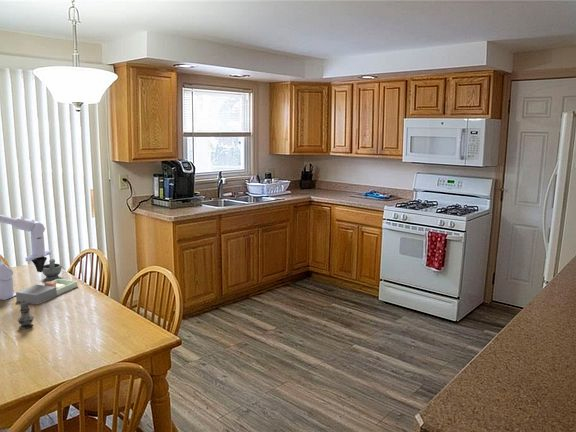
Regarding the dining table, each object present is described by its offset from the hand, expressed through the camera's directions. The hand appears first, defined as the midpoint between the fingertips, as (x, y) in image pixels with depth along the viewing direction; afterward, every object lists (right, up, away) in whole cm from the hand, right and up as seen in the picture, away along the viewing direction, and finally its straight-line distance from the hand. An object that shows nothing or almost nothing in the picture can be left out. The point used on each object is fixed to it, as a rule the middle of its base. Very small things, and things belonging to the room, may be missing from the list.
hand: (40, 271), depth 238 cm
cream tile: (+8, -7, +1) cm, 11 cm away
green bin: (+8, -9, +2) cm, 13 cm away
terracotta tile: (+7, -8, -4) cm, 11 cm away
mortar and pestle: (-3, -6, +19) cm, 20 cm away
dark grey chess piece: (+16, -18, -42) cm, 49 cm away
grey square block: (+4, -12, -11) cm, 17 cm away
